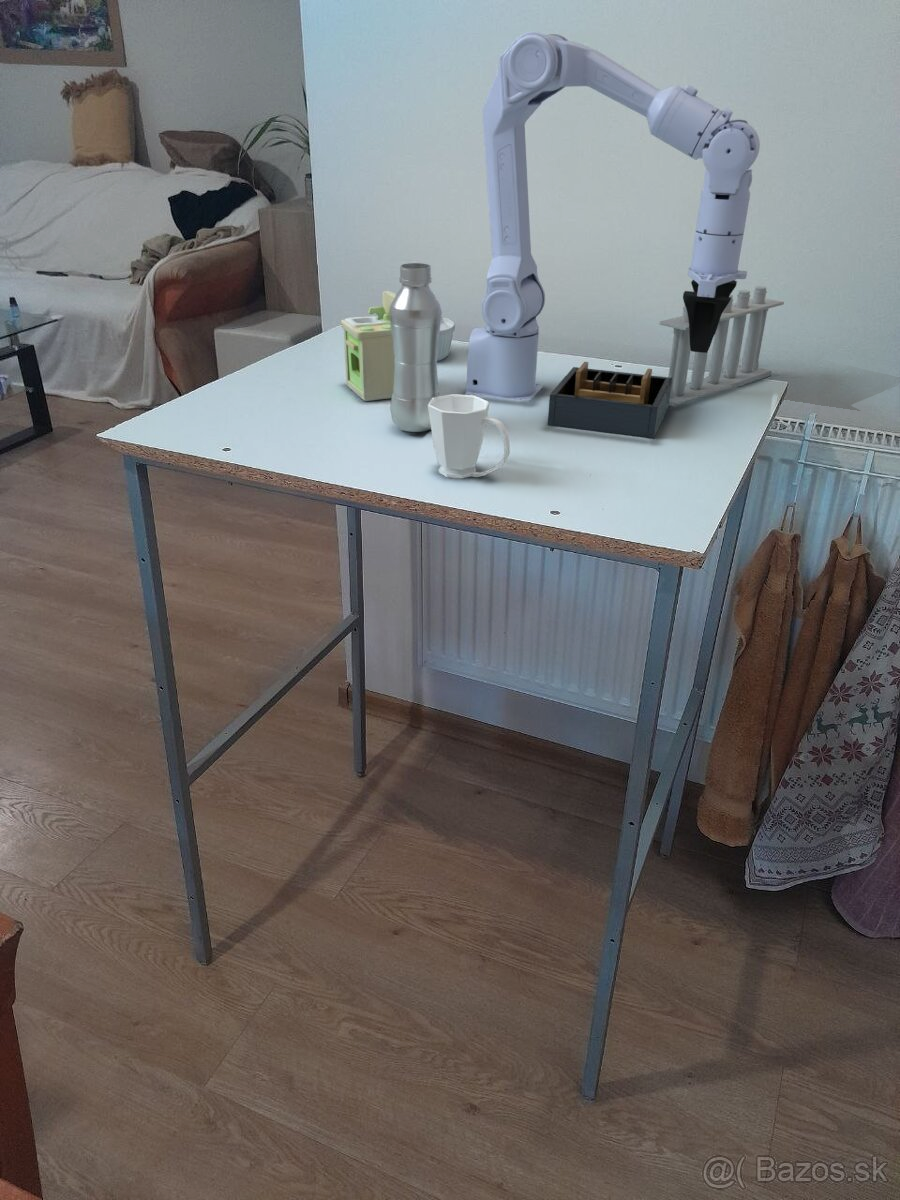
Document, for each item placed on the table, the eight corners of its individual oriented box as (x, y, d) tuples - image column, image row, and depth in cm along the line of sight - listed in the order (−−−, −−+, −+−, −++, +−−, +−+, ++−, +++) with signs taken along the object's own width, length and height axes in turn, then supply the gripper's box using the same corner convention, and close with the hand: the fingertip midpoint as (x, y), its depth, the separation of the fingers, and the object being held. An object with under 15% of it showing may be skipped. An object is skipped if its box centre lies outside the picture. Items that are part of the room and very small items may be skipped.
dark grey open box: (547, 429, 121) (549, 394, 119) (570, 399, 132) (573, 366, 130) (653, 443, 117) (657, 407, 115) (668, 410, 128) (672, 377, 126)
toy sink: (341, 385, 136) (337, 292, 130) (389, 380, 139) (387, 288, 132) (360, 402, 129) (357, 305, 123) (410, 397, 132) (409, 301, 125)
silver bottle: (448, 424, 122) (451, 263, 112) (430, 441, 117) (431, 273, 107) (402, 418, 124) (400, 259, 114) (382, 434, 118) (379, 268, 108)
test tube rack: (674, 409, 129) (688, 310, 123) (648, 401, 132) (660, 304, 125) (771, 375, 144) (787, 286, 137) (745, 369, 147) (760, 281, 140)
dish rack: (572, 416, 124) (576, 371, 121) (580, 406, 128) (584, 361, 125) (640, 425, 121) (646, 378, 118) (646, 414, 125) (652, 368, 122)
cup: (448, 455, 112) (449, 389, 108) (521, 474, 108) (525, 405, 104) (414, 474, 107) (414, 405, 103) (490, 494, 102) (493, 422, 98)
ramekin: (461, 363, 147) (462, 329, 144) (390, 366, 145) (390, 332, 142) (446, 345, 157) (446, 312, 154) (379, 347, 154) (379, 315, 152)
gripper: (749, 243, 107) (729, 361, 114) (756, 226, 119) (738, 334, 126) (687, 239, 109) (671, 355, 116) (700, 222, 121) (684, 329, 128)
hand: (702, 344), depth 121 cm, fingers open, 7 cm apart
